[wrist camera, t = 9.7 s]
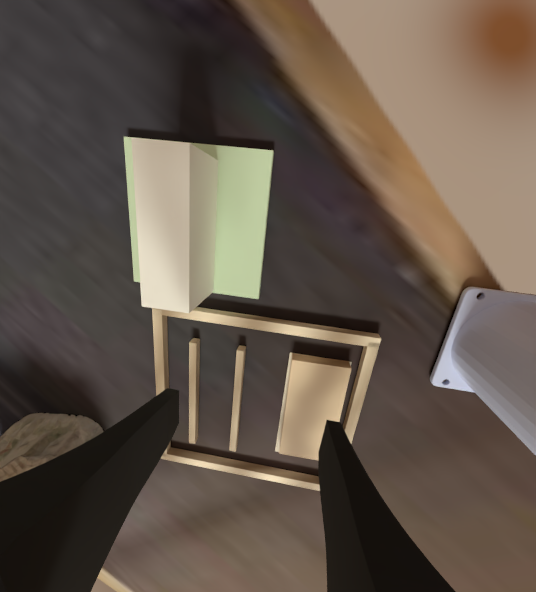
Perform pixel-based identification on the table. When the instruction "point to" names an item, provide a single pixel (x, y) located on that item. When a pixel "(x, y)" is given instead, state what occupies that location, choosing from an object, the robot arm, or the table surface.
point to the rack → (252, 322)
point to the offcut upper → (312, 402)
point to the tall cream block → (175, 222)
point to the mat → (228, 216)
